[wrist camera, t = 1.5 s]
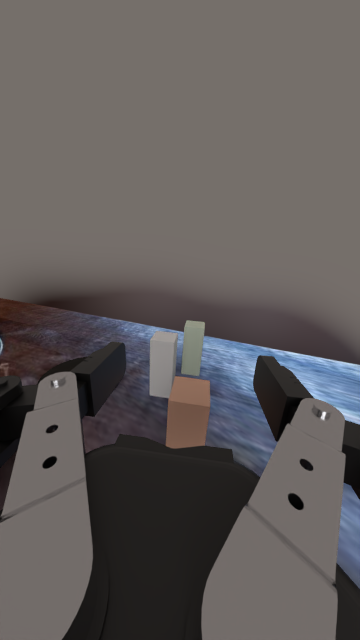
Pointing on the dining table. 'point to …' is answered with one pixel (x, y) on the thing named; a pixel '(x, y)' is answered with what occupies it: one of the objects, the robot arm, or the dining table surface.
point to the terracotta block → (188, 412)
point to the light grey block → (162, 363)
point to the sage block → (192, 347)
